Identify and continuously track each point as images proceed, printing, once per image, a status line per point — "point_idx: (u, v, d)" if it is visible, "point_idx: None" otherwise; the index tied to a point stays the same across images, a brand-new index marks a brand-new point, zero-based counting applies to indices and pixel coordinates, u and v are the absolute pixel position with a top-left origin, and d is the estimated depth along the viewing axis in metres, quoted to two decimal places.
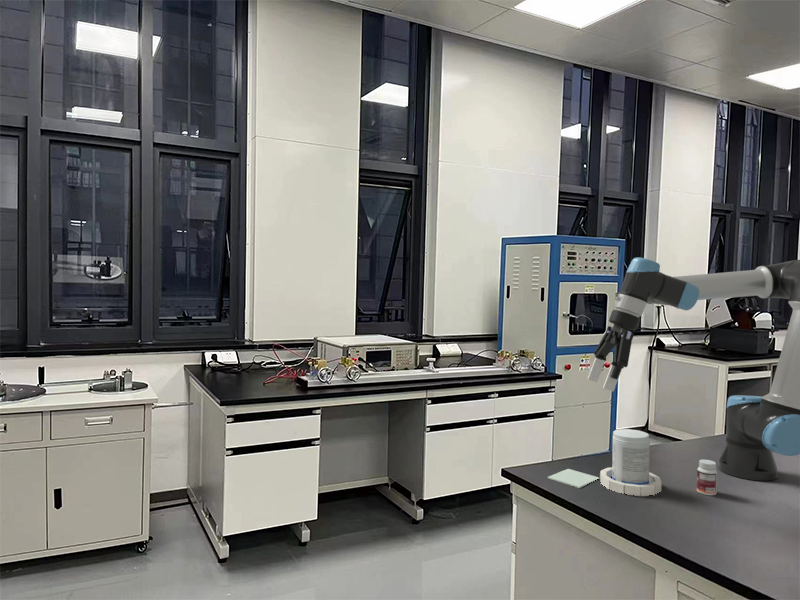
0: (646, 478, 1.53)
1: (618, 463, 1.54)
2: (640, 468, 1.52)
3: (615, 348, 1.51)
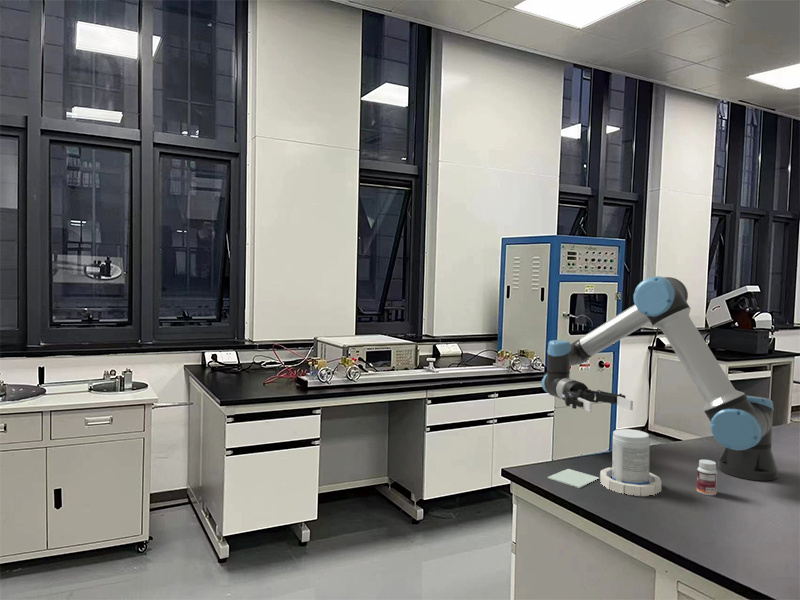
0: (646, 478, 1.53)
1: (618, 463, 1.54)
2: (640, 468, 1.52)
3: None
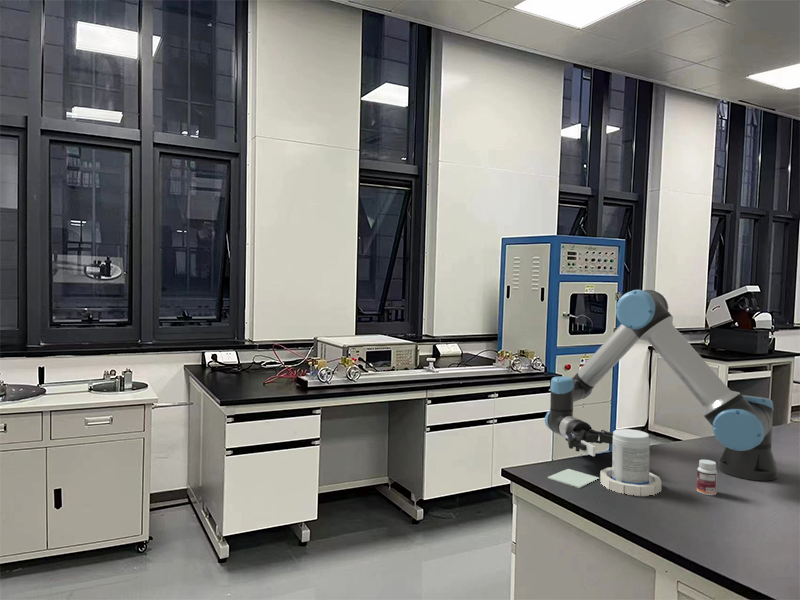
0: (646, 478, 1.53)
1: (618, 463, 1.54)
2: (640, 468, 1.52)
3: None
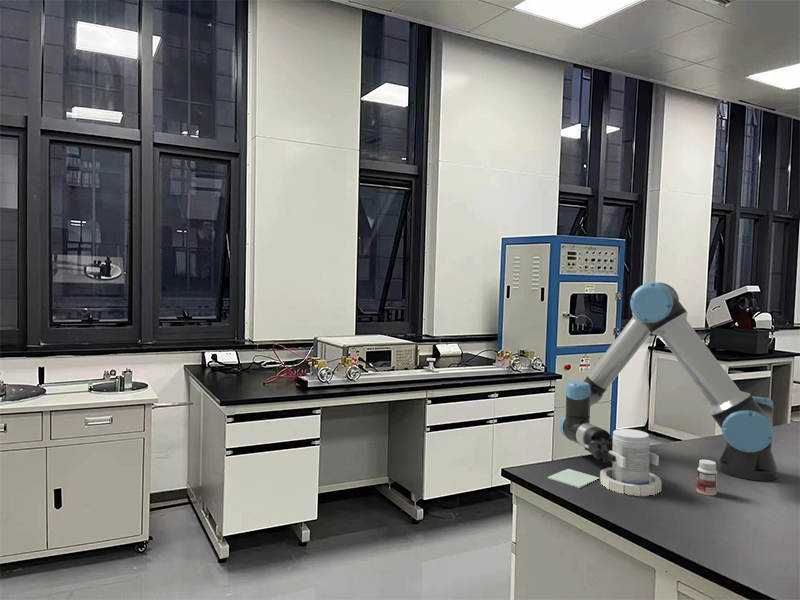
0: (646, 478, 1.53)
1: None
2: (640, 468, 1.52)
3: None
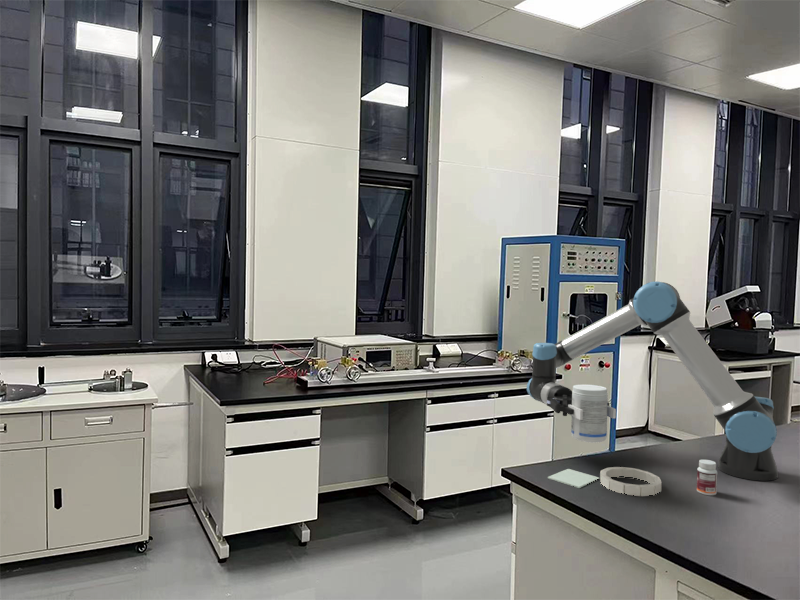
0: (603, 430, 1.56)
1: None
2: (597, 420, 1.55)
3: None
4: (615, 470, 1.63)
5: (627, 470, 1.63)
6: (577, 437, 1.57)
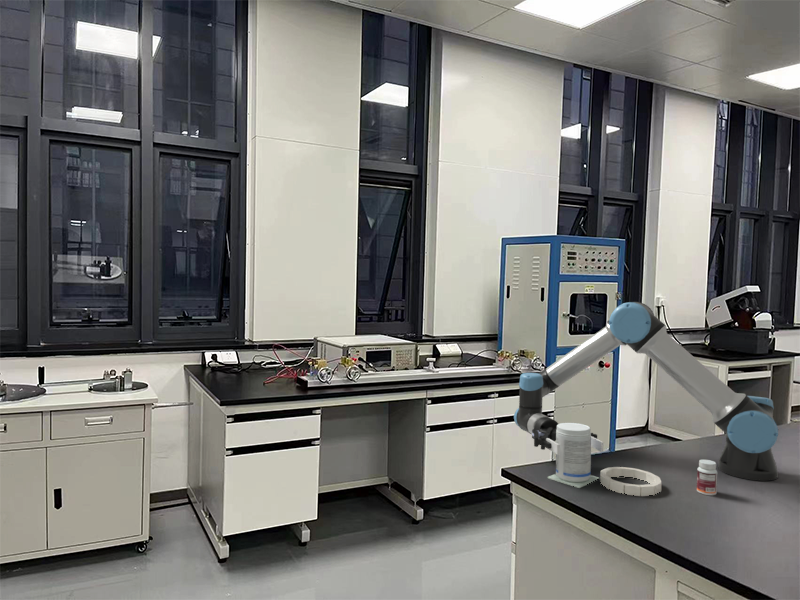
0: (587, 470, 1.57)
1: (560, 456, 1.59)
2: (581, 460, 1.56)
3: None
4: (615, 470, 1.63)
5: (627, 470, 1.63)
6: (561, 477, 1.59)
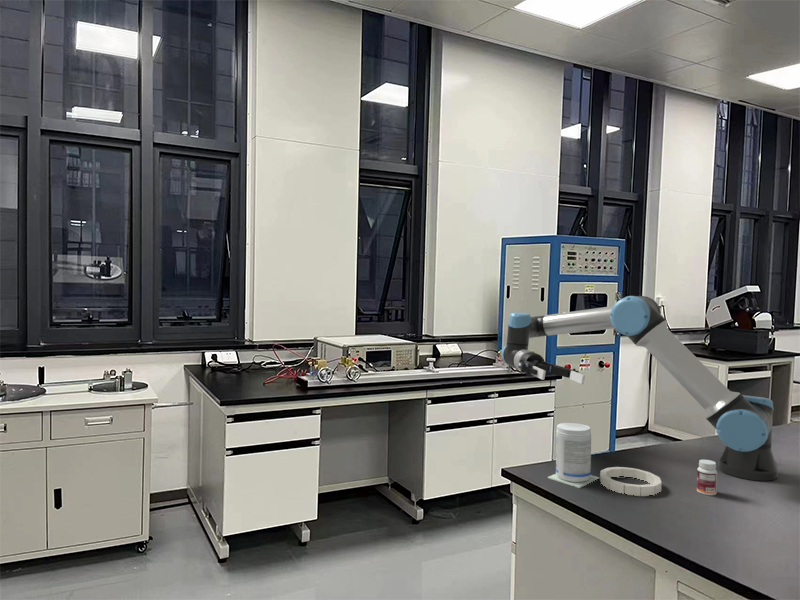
0: (587, 470, 1.57)
1: (560, 456, 1.59)
2: (581, 460, 1.56)
3: None
4: (615, 470, 1.63)
5: (627, 470, 1.63)
6: (561, 476, 1.59)
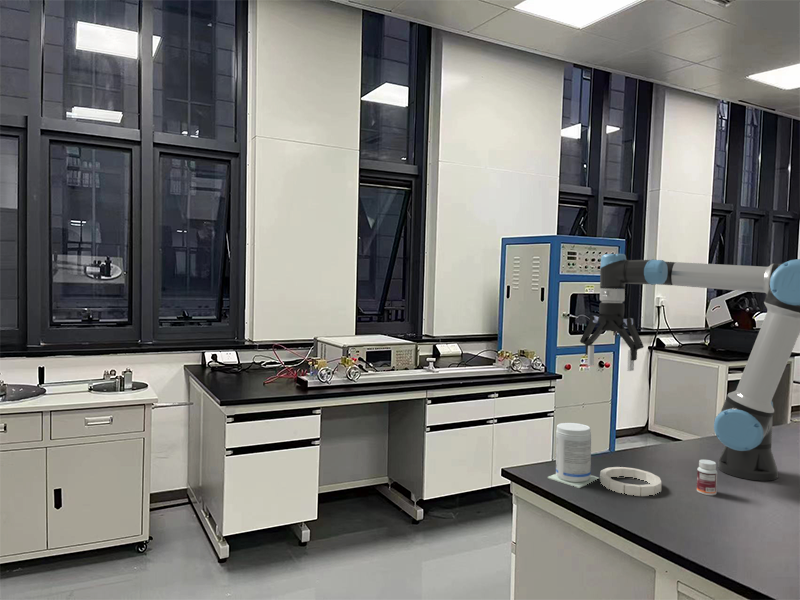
0: (587, 470, 1.57)
1: (560, 456, 1.59)
2: (581, 460, 1.56)
3: (622, 335, 1.77)
4: (615, 470, 1.63)
5: (627, 470, 1.63)
6: (561, 476, 1.59)
